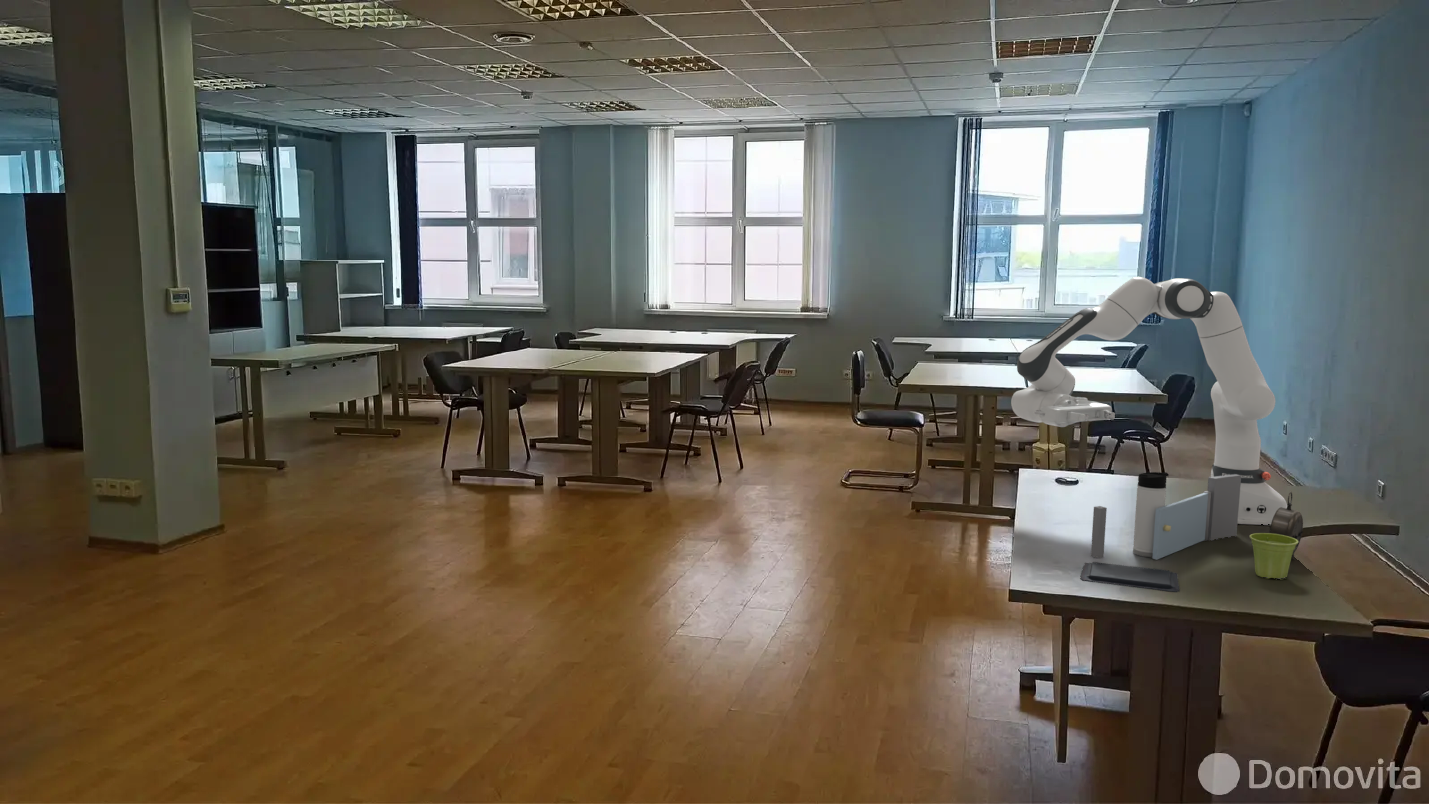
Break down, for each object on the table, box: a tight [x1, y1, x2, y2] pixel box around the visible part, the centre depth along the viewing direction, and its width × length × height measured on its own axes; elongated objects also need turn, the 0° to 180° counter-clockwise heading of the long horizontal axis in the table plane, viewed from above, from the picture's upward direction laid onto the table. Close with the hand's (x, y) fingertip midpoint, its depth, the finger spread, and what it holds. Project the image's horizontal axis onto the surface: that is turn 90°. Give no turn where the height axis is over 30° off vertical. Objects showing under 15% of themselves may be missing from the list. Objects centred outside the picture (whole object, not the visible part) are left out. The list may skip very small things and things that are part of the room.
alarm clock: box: [1268, 490, 1304, 561], centre depth 232 cm, size 11×5×16 cm, turn 134°
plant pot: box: [1249, 532, 1298, 579], centre depth 218 cm, size 9×9×9 cm
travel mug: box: [1132, 471, 1170, 558], centre depth 234 cm, size 6×7×20 cm
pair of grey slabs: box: [1090, 474, 1241, 559], centre depth 242 cm, size 49×2×16 cm, turn 116°
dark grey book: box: [1079, 561, 1181, 593], centre depth 217 cm, size 20×2×15 cm
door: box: [1151, 490, 1211, 561], centre depth 238 cm, size 29×2×12 cm, turn 132°
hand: (1099, 417), depth 253 cm, fingers open, 8 cm apart
